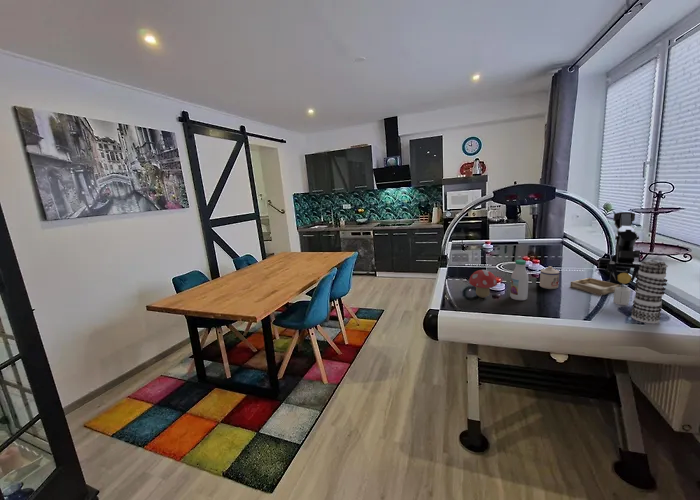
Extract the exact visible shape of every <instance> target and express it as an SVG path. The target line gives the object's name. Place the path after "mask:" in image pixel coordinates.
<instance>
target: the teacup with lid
mask: <svg viewBox="0 0 700 500" xmlns="http://www.w3.org/2000/svg"><path fill="white" fill-rule="evenodd" d="M539 273H540V277H539V286H540V287H541V288H543V289H546V290H547V289H548V290H556V289H558V288H559V284H560V270H558V269H555V268H553V266H550V265H549V266H547V267H546V268H542V269H541V270H540V271H539Z"/></svg>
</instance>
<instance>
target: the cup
mask: <svg viewBox="0 0 700 500" xmlns="http://www.w3.org/2000/svg"><path fill="white" fill-rule="evenodd" d="M630 296H631V289H630V288H629V287H628V288H627V287H624V286H623V287H621V286H620V287H616V288H615V291H614V292H613V299H612V302H613V303H614V304H616V305H619V306H628V305H629V304H630Z"/></svg>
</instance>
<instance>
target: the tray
mask: <svg viewBox="0 0 700 500" xmlns="http://www.w3.org/2000/svg"><path fill="white" fill-rule="evenodd" d="M621 285H622V284H621ZM621 285H619V284H614V283H610V282H607V280H606V281H605V280H601V279H597V278H594V277H593V278H592V277H587V278H582V279H577V280H572V281H570V285H569V287H570V288H573V289H575V290H576V289H577V290H579V291H584V292H588V293H591V294H595V295H597V296H605V295H608V294H611V293H614V291H615V288H616V287H621Z"/></svg>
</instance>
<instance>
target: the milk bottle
mask: <svg viewBox="0 0 700 500" xmlns="http://www.w3.org/2000/svg"><path fill="white" fill-rule="evenodd" d="M514 262H515V263H514V264H515V268H514V269H513V270H512V273H511V276H510V291H509V292H510V293H509V295H510V296H509V297H510V299H513V300H515V301H526V300H528V293H529V292H528V291H529V274H528V271H527V269H526V264H527V261H526V260H524V259H516V260H515V261H514Z"/></svg>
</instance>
